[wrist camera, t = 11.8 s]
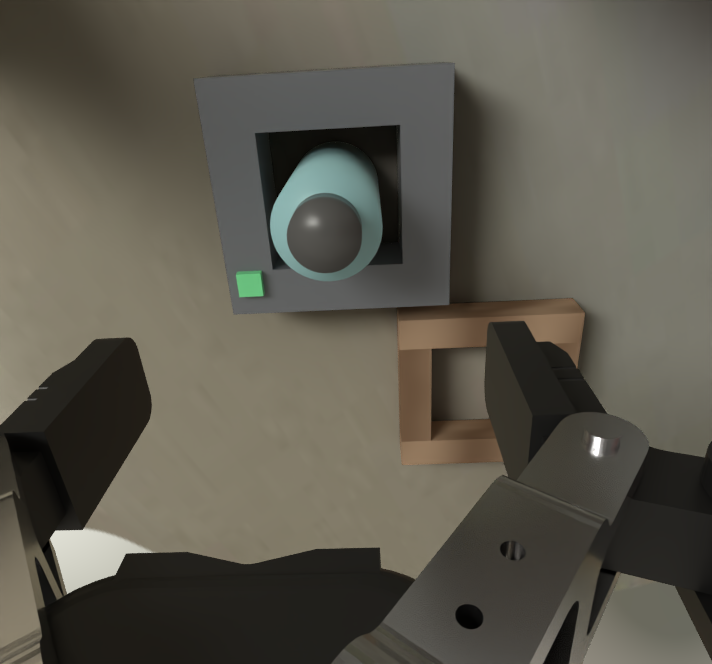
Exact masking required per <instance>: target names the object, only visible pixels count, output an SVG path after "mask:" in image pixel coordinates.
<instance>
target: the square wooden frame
mask: <svg viewBox="0 0 712 664" xmlns="http://www.w3.org/2000/svg"><path fill="white" fill-rule="evenodd" d="M584 318H585V312H584V311H583V310H582V309H581V307H580V306H579V305H578V304H577V303H576V302H575V300H574V299H573V298H566V299H543V300H520V301H498V302H475V303H452V304H449V305H436V306H413V307H397V336H398V377H399V419H400V449H401V460H402V465H415V464H445V463H476V462H504V461H503V458H502V455H501V452H500V449H499V446H498V443H497V440H496V436H495V433H494V430H493V427H492V424H491V421H490V419H478V420H450V421H431V367H432V349H435V348H460V347H484V346H486V343H487V329H488V324H489V323H490V322H503V321H525V323H526V324H527V326H528V328H529V330H530V331H531V333H532V335H533V337H534V338H535V340H536V342H545V341H550V342H552V343H553V344H555V345H556V346H558V347H559V348H561V349H563V350H564V351H566V352H567V353H568V354H569V356H570V357H571V359H572V360H573V362H574V364H575V365H576V369H577V366H578V359H579V352H580V345H581V338H582V332H583V325H584Z"/></svg>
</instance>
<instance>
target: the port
mask: <svg viewBox="0 0 712 664" xmlns="http://www.w3.org/2000/svg"><path fill="white" fill-rule="evenodd" d="M454 71H455V63H451V62H434V63H418V64H401V65H385V66H369V67H352V68H336V69H320V70H304V71H287V72H271V73H255V74H238V75H222V76H210V77H203V78H195V79H193V80H194V86H195V91H196V97H197V103H198V109H199V115H200V121H201V126H202V132H203V138H204V144H205V150H206V156H207V161H208V167H209V173H210V179H211V185H212V191H213V196H214V202H215V208H216V214H217V220H218V226H219V231H220V237H221V243H222V249H223V255H224V261H225V266H226V272H227V278H228V284H229V290H230V295H231V301H232V307H233V313H234V314H254V313H276V312H299V311H322V310H345V309H367V308H390V307H413V306H436V305H449V290H450V246H451V202H452V159H453V115H454ZM387 125H396V127H397V174H398V222H399V242H391V243H380V246H379V248H378V250H377V253H376V254H375V256H374V258H373V259H372V260H371V261H370V263H369V264H368V265H367V266H366V267H365V268H364V269H362V270H361V271H360V272H358V273H357V274H355V275H353V276H351V277H348V278H346V279H342V280H338V281H319V280H314V279H310V278H308V277H305V276H303V275H301V274H299V273H297V272H296V271H294V270H293V269H292V268H290V267H289V266H288V265H287V264H286V263H285V262H284V260H283V259H282V258H281V257H280V255H279V254H278V252H277V250H276V248H275V246H274V243H273V240H272V236H271V230H270V220H271V213H272V209H273V206H274V204H275V202H276V200H277V199H276V191H275V183H274V174H273V166H272V158H271V150H270V141H269V133H268V132H282V131H299V130H317V129H334V128H352V127H369V126H387Z"/></svg>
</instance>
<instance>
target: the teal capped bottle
mask: <svg viewBox="0 0 712 664" xmlns="http://www.w3.org/2000/svg"><path fill="white" fill-rule="evenodd" d="M382 229H383V225H382V215H381V205H380V195H379V185H378V177H377V172H376V170H375V167H374V165H373V163H372V161H371V160H370V159H369V157H368V156H367V155H366V154H365V153H364V152H363V151H362V150H360V149H359V148H357V147H356V146H353V145H351V144H348V143H345V142H339V141H332V142H326V143H322V144H320V145H317V146H316V147H314V148H312V149H311V150H310V151H308V152H307V153H306V154H305V155H304V156H303V158H302V159H301V161H300V162H299V164H298V165H297V167H296V169H295V170H294V172H293V174H292V175H291V177H290V178H289V180H288V182H287V183H286V185H285V186H284V188H283V190H282V191H281V193H280V194H279V196H278V198H277V200H276V202H275V204H274V206H273V209H272V213H271V220H270V230H271V236H272V240H273V243H274V246H275V248H276V250H277V252H278V254H279V255H280V257H281V258H282V259H283V260H284V262H285V263H286V264H287V265H288V266H289V267H290V268H292V269H293V270H294V271H296V272H297V273H299V274H301V275H303V276H305V277H308V278H310V279H314V280H319V281H338V280H342V279H346V278H348V277H351V276H353V275H355V274H357V273H358V272H360V271H361V270H362V269H364V268H365V267H366V266H367V265H368V264H369V263H370V261H371V260H372V259H373V258H374V256H375V254H376V253H377V250H378V248H379V246H380V242H381V238H382Z"/></svg>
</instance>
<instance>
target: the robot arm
mask: <svg viewBox="0 0 712 664" xmlns="http://www.w3.org/2000/svg"><path fill="white" fill-rule="evenodd" d="M583 378H584V377H583V376H582V374H581V373H580V371H579V370H578V369H576V365H575V364H574V362H573V360H572V359H571V357H570V356H569V354H568V353H567V352H566V351H564V350H563V349H561V348H559V347H558V346H556V345H555V344H553V343H552V342H550V341H545V342H536V340H535V338H534V337H533V335H532V333H531V331H530V330H529V328H528V326H527V324H526V323H525V321H503V322H490V323H489V324H488V329H487V343H486V363H485V401H486V407H487V411H488V415H489V418H490V421H491V424H492V427H493V430H494V433H495V436H496V440H497V443H498V446H499V449H500V452H501V455H502V458H503V461H504V465H505V468H506V471H507V474H508V477H507V476H504V475H502V476H500V477H498V478H497V479H496V480H495V481H494V482H493V483H492V484H491V486H490V487H489V488H488V489H487V491H486V492H485V493H484V494H483V496H482V497H481V498H480V499H479V501H478V502H477V503H476V504H475V506H474V507H473V508H472V509H471V511H470V512H469V513H468V514H467V516H466V517H465V518H464V520H463V521H462V522H461V523H460V525H459V526H458V527H457V528H456V530H455V531H454V532H453V533H452V535H451V536H450V537H449V538H448V540H447V541H446V542H445V543H444V545H443V546H442V547H441V548H440V550H439V551H438V552H437V553H436V555H435V556H434V557H433V558H432V560H431V561H430V562H429V563H428V565H427V566H426V567H425V568H424V570H423V571H422V572H421V574H420V575H419V576H418V577H417V579H416V580H415V579H413V578H411V577H409V576H406V575H403V574H400V573H397V572H394V571H391V570H386V569H382V568H381V560H380V548H344V549H315V550H311V551H306V552H302V553H298V554H293V555H289V556H285V557H281V558H276V559H272V560H268V561H264V562H259V563H255V564H240V563H235V562H230V561H226V560H221V559H217V558H212V557H207V556H203V555H198V554H193V553H189V552H173V553H132V554H126V555H125V557H124V559H123V561H122V563H121V565H120V567H119V569H118V571H117V573H116V575H114V576H111V577H107V578H104V579H101V580H98V581H95V582H92V583H90V584H88V585H85V586H83V587H81V588H78V589H76V590H74V591H72V592H71V593H69V594H67V592H66V589H65V585H64V582H63V578H62V574H61V571H60V567H59V564H58V560H57V556H56V553H55V550H54V547H53V545H52V543H51V541H50V537H51V536H52V534H53V533H54V531H55V530H83V528H84V527H85V525H86V523H87V522H88V520H89V518H90V517H91V515H92V514H93V512H94V510H95V509H96V507H97V505H98V504H99V502H100V500H101V499H102V497H103V496H104V494H105V492H106V491H107V489H108V487H109V486H110V484H111V482H112V481H113V479H114V477H115V476H116V474H117V473H118V471H119V469H120V468H121V466H122V464H123V463H124V461H125V459H126V458H127V456H128V454H129V453H130V451H131V450H132V448H133V446H134V445H135V443H136V441H137V440H138V438H139V436H140V435H141V433H142V432H143V430H144V428H145V427H146V425H147V423H148V421H149V419H150V415H151V408H152V403H151V395H150V391H149V388H148V384H147V381H146V377H145V373H144V370H143V366H142V363H141V359H140V355H139V352H138V348H137V346H136V343H135V342H134V340H133V339H131V338H108V339H96V340H94V341H93V342H92V343H91V344H90V345H89V346H88V347H87V348H86V349H85V350H84V351H83V352H82V353H81V354H80V355H79V356H78V357H77V358H76V359H75V360H74V361H72V362H71V363H69V364H67V365H66V366H64V367H62V368H60V369H59V370H57V371H55V372H54V373H52V374H51V375H50V376H49V377H48V378H47V379H46V380H45V381H44V382H43V383H42V384H41V385H40V386H39V390H35V391H34V392H33V393H32V394H31V395H30V396H29V397H28V401H24V402H23V403H22V404H21V405H20V406H19V407H18V408H17V409H16V410H15V411H14V412H13V413H12V414H11V415H10V416H9V417H8V418H7V419H6V420H5V421H4V422H3V423H2V424H1V425H0V664H582V663H583V661H584V658H585V655H586V653H587V650H588V648H589V646H590V643H591V641H592V639H593V636H594V634H595V632H596V629H597V627H598V625H599V623H600V620H601V618H602V616H603V613H604V611H605V609H606V606H607V604H608V602H609V600H610V597H611V595H612V593H613V591H614V588H615V586H616V584H617V581H618V579H619V577H620V574H621V573H624V574H628V575H633V576H637V577H641V578H645V579H649V580H653V581H657V582H661V583H665V584H669V585H673V586H675V587H676V589H677V591H678V593H679V595H680V597H681V599H682V601H683V603H684V605H685V607H686V610H687V611H688V614H689V616H690V618H691V620H692V621H693V624H694V626H695V627H696V630H697V632H698V634H699V636H700V638H701V640H702V642H703V644H704V646H705V648H706V650H707V652H708V654H709V656H710V658H711V660H712V442H711V443H710V444H709V446H708V449H707V452H706V456H705V458H704V457H698V456H692V455H686V454H680V453H674V452H669V451H664V450H659V449H656V448H652V447H649V443H648V440H647V438H646V436H645V435H644V433H643V432H642V431H641V430H640V429H639V428H637V427H636V426H635V425H633V424H632V423H630V422H628V421H626V420H624V419H622V418H619V417H616V416H613V415H609V414H607V413H606V411H605V410H604V408H603V407H602V405H601V404H600V402H599V400H598V399H597V397H596V396H595V394H594V393H593V391H592V390H591V388H590V387H589V385H588V384H587V382H586V380H584V379H583Z"/></svg>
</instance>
